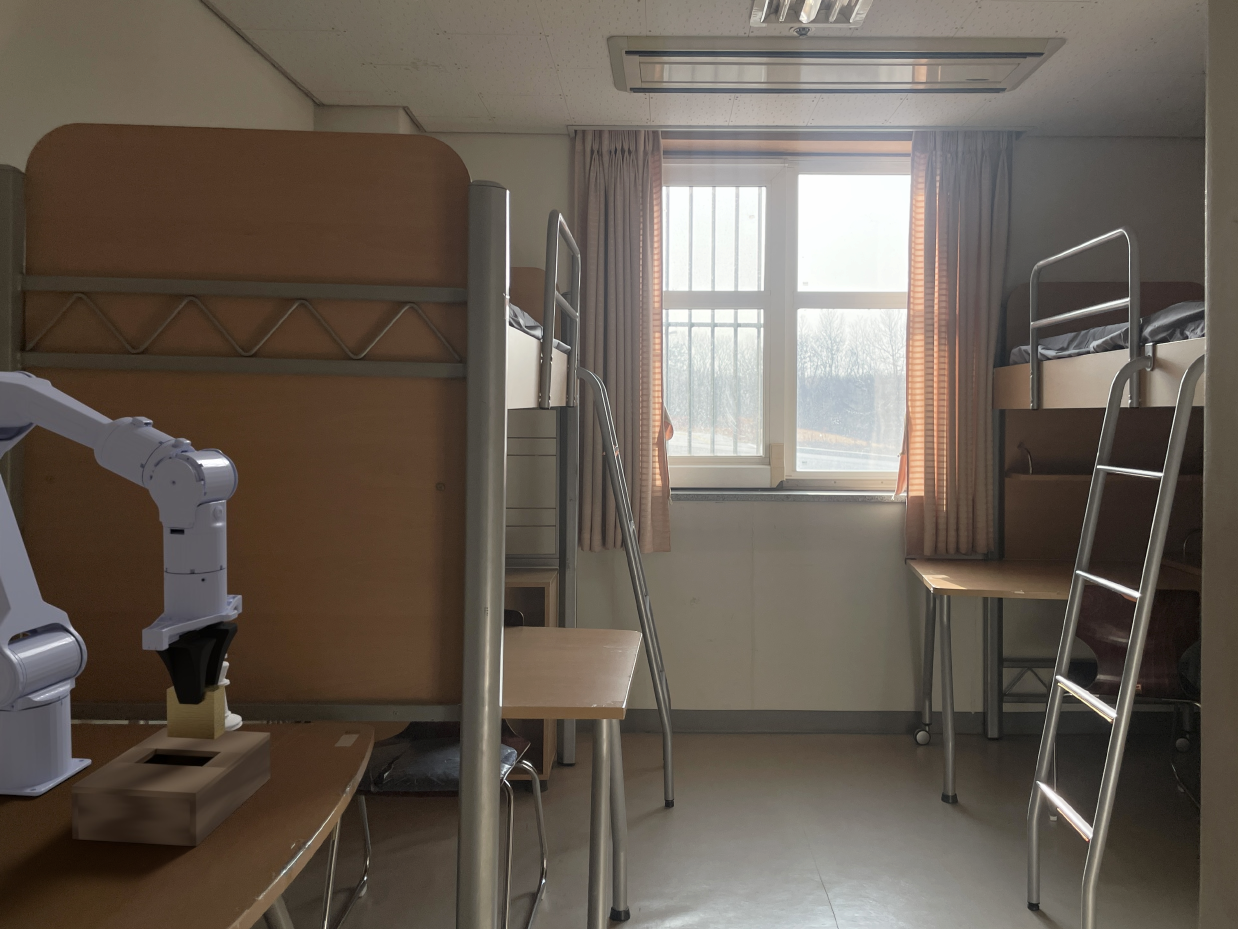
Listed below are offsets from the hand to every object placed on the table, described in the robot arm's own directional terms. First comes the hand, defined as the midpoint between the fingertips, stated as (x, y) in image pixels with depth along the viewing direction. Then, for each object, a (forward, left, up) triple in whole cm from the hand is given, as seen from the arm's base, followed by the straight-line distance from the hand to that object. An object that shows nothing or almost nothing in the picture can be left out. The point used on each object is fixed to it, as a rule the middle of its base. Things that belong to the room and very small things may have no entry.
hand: (197, 698), depth 84 cm
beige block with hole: (-1, -2, -10) cm, 11 cm away
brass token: (0, 0, -4) cm, 4 cm away
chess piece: (-8, +18, -11) cm, 22 cm away
